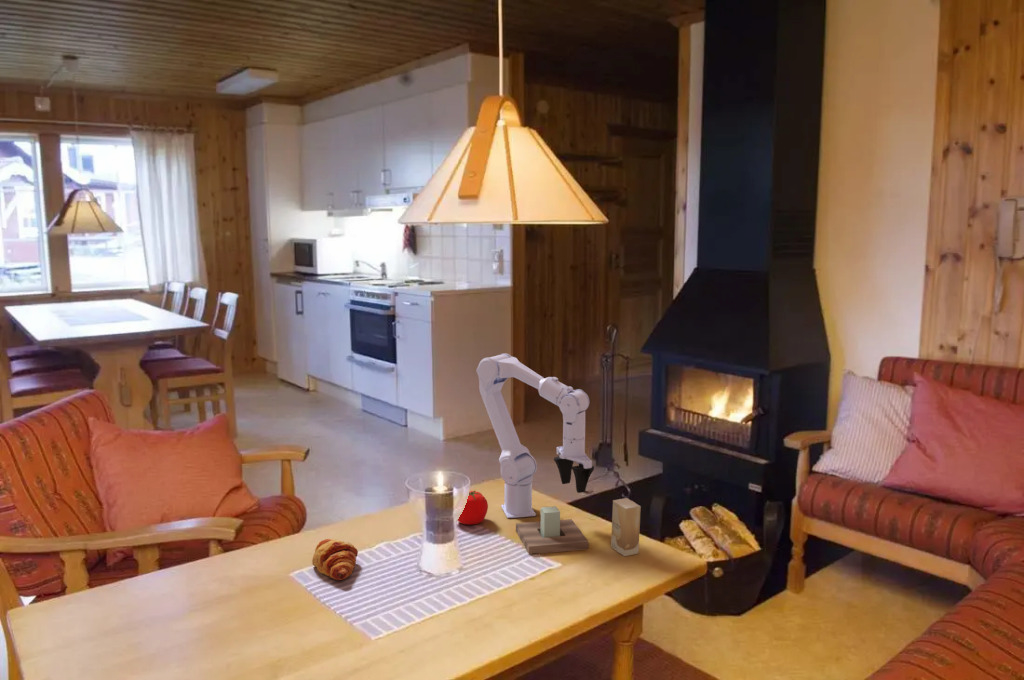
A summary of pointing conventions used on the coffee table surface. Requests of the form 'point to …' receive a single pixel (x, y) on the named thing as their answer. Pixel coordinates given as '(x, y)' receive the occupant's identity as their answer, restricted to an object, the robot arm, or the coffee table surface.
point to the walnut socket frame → (551, 538)
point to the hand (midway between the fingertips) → (573, 487)
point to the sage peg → (550, 522)
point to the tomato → (474, 509)
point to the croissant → (335, 558)
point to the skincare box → (625, 526)
